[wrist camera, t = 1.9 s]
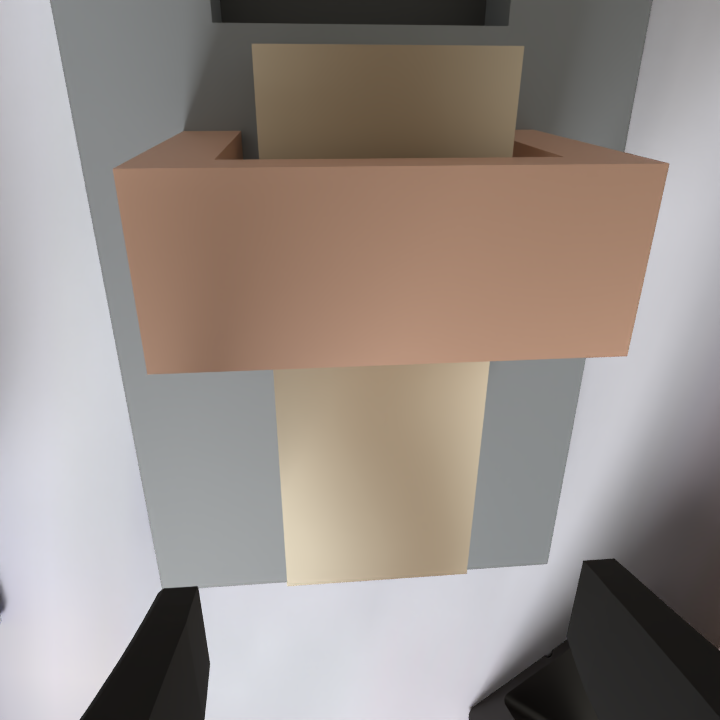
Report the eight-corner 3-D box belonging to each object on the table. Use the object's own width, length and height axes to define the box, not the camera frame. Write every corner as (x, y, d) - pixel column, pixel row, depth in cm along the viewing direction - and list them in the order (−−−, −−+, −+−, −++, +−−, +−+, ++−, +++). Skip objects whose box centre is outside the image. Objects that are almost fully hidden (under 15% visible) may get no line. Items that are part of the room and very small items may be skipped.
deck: (174, 543, 20) (162, 590, 18) (34, -279, 11) (-16, -345, 9) (525, 521, 21) (547, 564, 19) (648, -247, 12) (708, -301, 10)
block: (289, 475, 17) (287, 586, 13) (265, 51, 12) (251, 43, 9) (430, 467, 17) (466, 573, 13) (458, 52, 12) (524, 45, 9)
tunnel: (199, 268, 14) (146, 374, 9) (183, 131, 13) (112, 168, 8) (517, 261, 15) (626, 356, 10) (533, 129, 13) (669, 163, 8)
